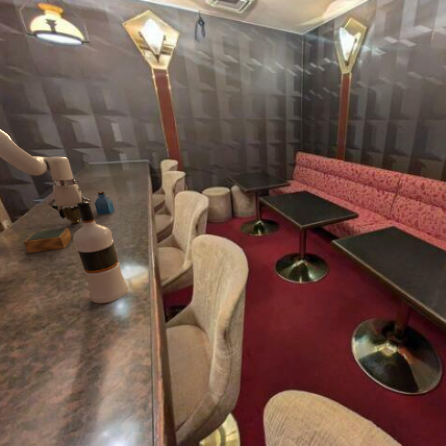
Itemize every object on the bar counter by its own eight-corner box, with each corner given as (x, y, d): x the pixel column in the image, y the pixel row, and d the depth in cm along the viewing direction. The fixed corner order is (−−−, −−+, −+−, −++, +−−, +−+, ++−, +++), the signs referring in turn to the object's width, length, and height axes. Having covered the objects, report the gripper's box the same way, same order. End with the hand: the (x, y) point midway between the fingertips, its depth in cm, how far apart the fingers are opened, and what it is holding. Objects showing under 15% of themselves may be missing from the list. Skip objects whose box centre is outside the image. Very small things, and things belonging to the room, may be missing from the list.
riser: (28, 253, 98) (23, 241, 96) (39, 242, 107) (34, 231, 105) (64, 248, 103) (60, 236, 101) (71, 238, 112) (68, 227, 110)
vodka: (83, 303, 72) (48, 206, 61) (108, 285, 81) (81, 196, 70) (113, 306, 72) (84, 208, 61) (135, 287, 80) (113, 198, 69)
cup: (65, 226, 123) (61, 210, 120) (66, 221, 128) (62, 207, 125) (85, 223, 127) (81, 208, 124) (85, 219, 132) (81, 205, 130)
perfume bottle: (97, 214, 141) (91, 193, 137) (102, 210, 147) (97, 191, 142) (110, 213, 143) (105, 193, 139) (114, 210, 148) (109, 190, 144)
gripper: (88, 180, 127) (96, 212, 133) (43, 182, 119) (54, 216, 126) (85, 183, 121) (94, 217, 127) (37, 185, 113) (48, 221, 119)
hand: (74, 216), depth 126 cm, fingers closed on cup, 7 cm apart
